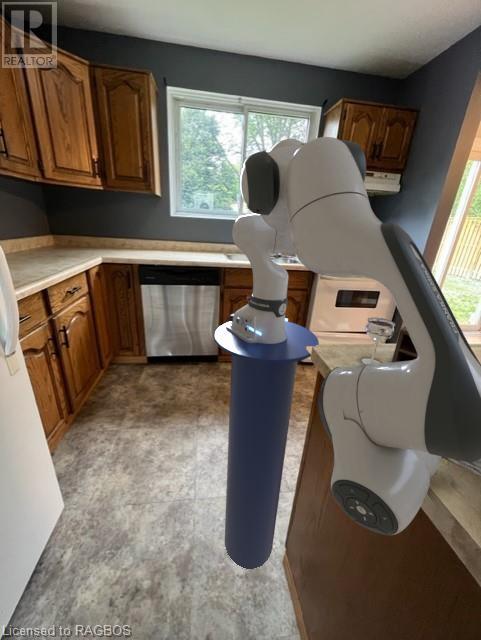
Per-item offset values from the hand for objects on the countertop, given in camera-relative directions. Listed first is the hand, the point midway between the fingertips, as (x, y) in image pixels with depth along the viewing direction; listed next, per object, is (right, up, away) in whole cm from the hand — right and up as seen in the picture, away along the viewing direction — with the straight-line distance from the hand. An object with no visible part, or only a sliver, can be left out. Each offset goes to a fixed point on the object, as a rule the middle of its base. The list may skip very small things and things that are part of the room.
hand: (430, 399), depth 49 cm
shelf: (+14, +2, +26) cm, 29 cm away
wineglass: (+2, +2, +26) cm, 26 cm away
